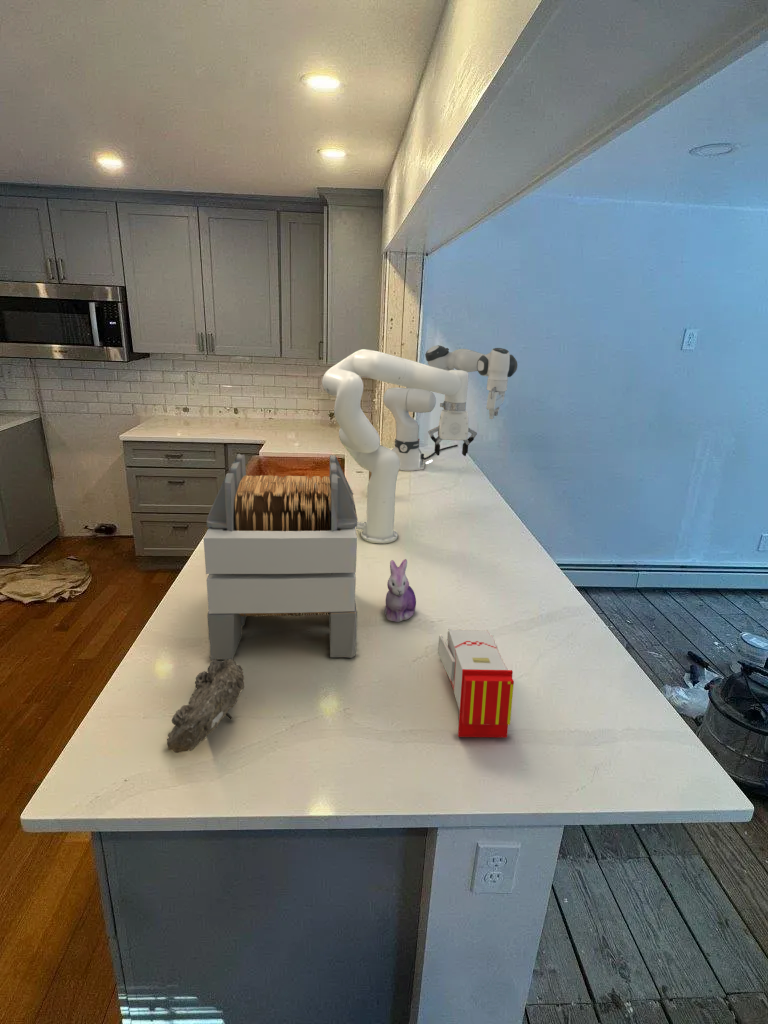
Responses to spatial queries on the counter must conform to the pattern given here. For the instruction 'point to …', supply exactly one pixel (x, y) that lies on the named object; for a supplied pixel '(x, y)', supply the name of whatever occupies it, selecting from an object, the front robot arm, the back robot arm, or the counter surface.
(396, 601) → the figurine
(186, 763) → the counter surface
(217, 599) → the grey record storage stand
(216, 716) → the fossil
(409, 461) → the back robot arm
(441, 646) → the toy
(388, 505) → the front robot arm
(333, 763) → the counter surface
